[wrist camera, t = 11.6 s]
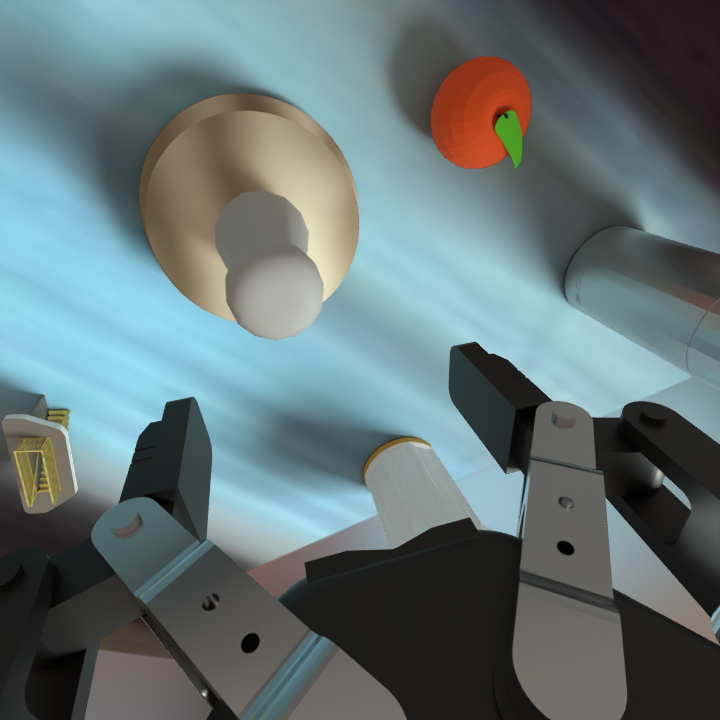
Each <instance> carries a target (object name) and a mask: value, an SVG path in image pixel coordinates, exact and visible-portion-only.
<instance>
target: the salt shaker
mask: <svg viewBox="0 0 720 720" xmlns="http://www.w3.org/2000/svg"><path fill="white" fill-rule="evenodd" d="M308 238H309V232H308V229H307V227H306V224H305V222H304V219H303V217H302V214H301V212H300V211H299V210H298V209H297V208H296V207H295V206H294V205H293V204H292V203H291V202H289V201H288V200H287V199H286V198H285V197H283V196H280V195H277V194H274V193H271V192H268V191H265V190H260V191H253V192H245V193H241V194H240V195H239V196H237V197H236V198H234V199H233V200H232V201H230V202H229V203H227V204H226V205H225V206H224V207H223V209H222V211H221V213H220V215H219V217H218V219H217V222H216V224H215V247H216V249H217V251H218V253H219V255H220V257H221V259H222V261H223V263H224V265H225V267H226V268H227V270H228V272H227V274H226V278H225V288H226V302H227V304H228V306H229V308H230V310H231V312H232V314H233V315H234V317H235V319H236V321H237V323H238V324H239V325H240V326H241V327H243V328H244V329H246V330H247V331H249V332H250V333H252V334H253V335H255V336H258V337H263V338H267V339H272V340H279V339H284V338H288V337H293V336H296V335H298V334H299V333H301V332H302V331H304V330H305V329H307V328H308V327H310V326H311V325H312V324H313V322H314V321H315V319H316V317H317V315H318V314H319V312H320V310H321V309H322V301H323V292H324V283H323V281H322V278H321V276H320V273H319V271H318V269H317V266H316V264H315V263H314V261H313V260H312V259H311V258H310V257H309V256H307V251H308Z"/></svg>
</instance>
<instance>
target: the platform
mask: <svg viewBox="0 0 720 720" xmlns="http://www.w3.org/2000/svg"><path fill="white" fill-rule="evenodd" d="M69 411H70V410H49V411H48V409H47V404H46V399H45V395H42V396H41V398H40V399H39V401H38V402H37V404H36V405H35V407H34V408H33V410H32V411H31V413H30V414H29V415H27V414H10V415H7V416H6V417H5V418H4V419H3V421H2V422H1V425H2V429H3V432H4V436H5V440H6V444H7V447H8V451H9V455H10V459H11V462H12V466H13V470H14V474H15V477H16V481H17V485H18V489H19V492H20V496H21V500H22V504H23V507H24V510H25V512H27V513H46V512H48V511H50V510H52V509H53V508H55V507H56V506H58V505H60V504H61V503H63V502H65V501H66V500H68V499H69V498H71V497H73V496H74V495H75V494H76V491H77V489H78V487H77V482H76V476H75V471H74V465H73V459H72V454H71V448H70V443H69V437H68V432H67V431H68V428H67V427H68V425H69V423H68V420H69V416H68V415H69V414H70V412H69ZM48 413H49V414H48ZM49 415H51V416H49ZM54 415H65V416H54ZM53 421H62V422H53Z"/></svg>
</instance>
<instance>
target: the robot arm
mask: <svg viewBox="0 0 720 720" xmlns="http://www.w3.org/2000/svg"><path fill="white" fill-rule="evenodd" d="M564 287H565V295H566V297H567V300H568V302H569V303H570V304H571V305H572V306H573V307H574V308H576V309H577V310H579V311H581V312H583V313H584V314H586V315H588V316H590V317H591V318H593V319H595V320H596V321H598V322H600V323H601V324H603V325H605V326H606V327H608V328H610V329H612V330H613V331H615V332H617V333H619V334H620V335H622V336H624V337H626V338H627V339H629V340H631V341H633V342H634V343H636V344H638V345H640V346H641V347H643V348H645V349H647V350H648V351H650V352H652V353H653V354H655V355H657V356H659V357H660V358H662V359H664V360H666V361H667V362H669V363H671V364H673V365H674V366H676V367H678V368H680V369H681V370H683V371H685V372H687V373H688V374H690V375H692V376H694V377H696V378H697V379H699V380H701V381H703V382H704V383H706V384H708V385H710V386H711V387H713V388H715V389H717V390H718V391H720V254H718V253H714V252H711V251H707V250H704V249H701V248H697V247H694V246H690V245H687V244H684V243H680V242H677V241H673V240H670V239H667V238H663V237H660V236H657V235H654V234H650V233H647V232H644V231H640V230H637V229H633V228H630V227H626V226H614V227H609V228H607V229H604V230H602V231H600V232H598V233H597V234H595V235H593V236H592V237H591V238H590V239H589V240H587V241H586V242H585V243H584V244H583V245H582V247H581V248H580V249H579V250H578V251H577V253H576V254H575V256H574V257H573V259H572V261H571V263H570V265H569V267H568V270H567V274H566V277H565V286H564ZM449 393H450V397H451V400H452V402H453V404H454V405H455V406H456V408H457V409H458V410H459V412H460V413H461V415H462V416H463V417H464V419H465V420H466V421H467V423H468V424H469V425H470V427H471V428H472V429H473V431H474V432H475V433H476V435H477V436H478V437H479V439H480V440H481V441H482V443H483V444H484V445H485V447H486V448H487V449H488V451H489V452H490V453H491V455H492V456H493V457H494V459H495V460H496V461H497V463H498V464H499V465H500V467H501V468H502V469H503V471H504V472H505V473H506V474H509V473H513V472H516V471H520V470H521V471H522V473H523V474H524V479H523V486H522V494H521V502H520V510H519V517H518V526H517V534H516V537H515V536H512V535H509V534H506V533H502V532H497V531H492V530H477V529H476V527H475V525H474V523H473V522H472V520H471V518H470V517H468V518H465V519H461V520H457V521H454V522H450V523H447V524H443V525H439V526H436V527H432V528H430V529H428V530H426V531H425V532H423V533H421V534H420V535H418V536H416V537H414V538H413V539H411V540H409V541H407V542H406V543H404V544H402V545H400V546H399V547H397V548H394V549H387V550H358V551H345V552H341V553H338V554H334V555H330V556H327V557H323V558H319V559H316V560H312V561H309V562H305V568H306V575H307V577H305V578H304V579H302V580H300V581H298V582H297V583H296V584H294V585H293V586H292V587H290V588H289V589H288V590H287V591H286V592H285V593H284V594H282V595H281V597H279V598H278V600H277V599H276V598H274V597H273V596H272V595H271V594H270V593H269V592H268V591H267V590H265V589H264V588H263V587H262V586H261V585H260V584H259V583H258V582H256V581H255V580H254V579H253V578H252V577H251V576H250V575H249V574H247V573H246V572H245V571H244V570H243V569H242V568H241V567H240V566H239V565H237V564H236V563H235V562H234V561H233V560H232V559H231V558H230V557H228V556H227V555H226V554H225V553H224V552H223V551H222V550H221V549H219V548H218V547H217V546H216V545H215V544H214V543H213V542H211V541H210V540H208V539H206V536H207V522H208V508H209V494H210V480H211V466H212V448H211V442H210V438H209V435H208V432H207V429H206V426H205V423H204V420H203V418H202V415H201V412H200V409H199V406H198V403H197V401H196V399H195V398H194V397H190V398H185V399H180V400H175V401H170V402H167V403H166V405H165V409H164V413H163V417H162V421H157V422H152V423H150V424H149V425H148V426H147V427H146V429H145V430H144V431H143V432H142V433H141V434H140V436H139V438H138V441H137V444H136V448H135V453H134V454H133V458H132V464H130V468H129V471H128V474H127V477H126V481H125V484H124V487H123V491H122V494H121V497H120V501H119V504H117V505H116V506H114V507H112V508H111V509H110V510H108V511H107V512H106V513H105V514H104V515H103V516H102V517H101V518H100V519H99V520H98V522H97V523H96V525H95V526H94V528H93V531H92V536H90V537H89V538H87V539H85V540H83V541H81V542H79V543H77V544H75V545H73V546H71V547H69V548H67V549H65V550H63V551H61V552H59V553H57V554H55V555H52V556H50V557H49V556H48V555H47V554H46V552H45V551H44V550H42V549H40V548H37V547H27V548H22V549H18V550H15V551H13V552H10V553H8V554H6V555H4V556H2V557H1V558H0V720H84V718H85V712H86V708H87V702H88V698H89V693H90V688H91V683H92V678H93V673H94V668H95V663H96V658H97V653H98V648H99V643H100V640H101V639H102V638H104V637H106V636H108V635H109V634H111V633H113V632H114V631H116V630H118V629H120V628H121V627H123V626H125V625H126V624H128V623H130V622H131V621H133V620H135V619H137V618H138V617H141V618H142V619H143V621H144V622H145V623H146V624H147V626H148V627H149V628H150V629H151V631H152V632H153V633H154V634H155V636H156V637H157V638H158V640H159V641H160V642H161V643H162V645H163V646H164V647H165V648H166V650H167V651H168V652H169V654H170V655H171V656H172V657H173V659H174V660H175V661H176V662H177V664H178V665H179V666H180V668H181V669H182V670H183V672H184V673H185V674H186V676H187V677H188V679H189V680H190V681H191V683H192V684H193V686H194V687H195V688H196V690H197V691H198V693H199V694H200V695H201V697H202V698H203V699H204V700H205V702H206V703H207V704H208V706H209V707H210V708H211V709H212V711H211V713H210V714H209V716H208V718H207V720H720V646H719V645H717V644H716V643H714V642H712V641H710V640H708V639H706V638H705V637H703V636H701V635H699V634H697V633H695V632H693V631H691V630H690V629H687V628H686V627H684V626H682V625H680V624H679V623H677V622H675V621H673V620H671V619H669V618H667V617H666V616H664V615H662V614H660V613H658V612H656V611H654V610H652V609H651V608H649V607H647V606H645V605H643V604H641V603H639V602H638V601H636V600H634V599H632V598H630V597H628V596H627V595H625V594H623V593H621V592H619V591H617V590H615V589H614V588H612V577H611V576H612V575H611V563H610V550H609V537H608V524H607V512H606V499H605V497H606V498H607V499H608V501H609V502H610V503H611V504H612V505H613V506H614V507H615V509H616V510H617V511H618V512H619V513H620V514H621V515H622V517H623V518H624V519H625V520H626V521H627V522H628V523H629V525H630V526H631V527H632V528H633V529H634V530H635V531H636V533H637V534H638V535H639V536H640V537H641V538H642V539H643V541H644V542H645V543H646V544H647V545H648V546H649V548H650V549H651V550H652V551H653V552H654V553H655V554H656V556H657V557H658V558H659V559H660V560H661V561H662V562H663V564H664V565H665V566H666V567H667V568H668V569H669V570H670V571H671V573H672V574H673V575H674V576H675V577H676V578H677V580H678V581H679V582H680V583H681V584H682V585H683V586H684V587H685V589H686V590H687V591H688V592H689V593H690V594H691V596H692V597H693V598H694V599H695V600H696V601H697V602H698V604H699V605H700V606H701V607H702V608H703V609H704V610H705V612H706V613H707V614H708V615H709V616H710V617H711V625H712V629H713V632H714V635H715V637H716V638H717V640H718V642H719V644H720V444H718V443H717V442H716V441H714V440H713V439H712V438H710V437H709V436H708V435H706V434H705V433H703V432H702V431H701V430H700V429H698V428H697V427H695V426H694V425H693V424H691V423H690V422H689V421H687V420H686V419H685V418H683V417H682V416H680V415H679V414H678V413H676V412H675V411H673V410H671V409H670V408H667V407H665V406H662V405H660V404H656V403H652V402H643V401H637V402H632V403H629V404H627V405H625V406H624V408H623V411H622V414H621V417H620V418H594V417H591V416H590V414H589V413H588V412H587V411H585V410H584V409H582V408H581V407H579V406H577V405H574V404H571V403H567V402H561V401H552V400H551V399H550V398H549V397H548V396H547V395H546V394H544V393H543V392H542V391H541V390H540V389H539V388H538V387H537V386H536V385H535V384H533V383H532V382H531V381H530V380H529V379H528V378H526V377H525V375H524V374H522V373H521V372H520V371H518V370H517V368H516V367H515V366H514V365H513V364H511V363H510V362H509V361H508V360H507V359H504V358H502V357H500V356H498V355H496V354H488V353H487V352H486V351H485V350H484V349H483V348H482V347H481V346H480V345H479V344H478V343H476V342H471V343H466V344H461V345H456V346H453V347H452V348H451V351H450V366H449ZM665 476H666V477H668V478H669V479H670V480H671V481H672V482H673V483H674V484H675V485H676V486H677V487H679V489H681V490H682V491H683V492H684V493H685V495H686V496H687V498H688V500H689V501H690V504H691V510H690V509H689V508H687V507H686V506H685V505H684V504H683V503H682V502H681V501H680V500H679V499H678V498H677V497H676V496H675V495H674V494H673V493H672V492H670V490H668V489H667V488H666V487H665V486H664V485H663V484H662V482H663V479H664V477H665Z"/></svg>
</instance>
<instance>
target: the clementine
mask: <svg viewBox="0 0 720 720" xmlns="http://www.w3.org/2000/svg"><path fill="white" fill-rule="evenodd" d="M531 110H532V107H531V94H530V90H529V86H528V83H527V81H526V80H525V78H524V76H523V74H522V73H521V72H520V71H519V70H518V69H517V68H516V67H515V66H514V65H513V64H512V63H510V62H509V61H506V60H504V59H501V58H498V57H478V58H475V59H471V60H468V61H467V62H465V63H463V64H461V65H460V66H459V67H457V68H456V69H454V70H453V71H451V73H450V74H449V75H448V76H447V77H446V78H445V80H444V81H443V82H442V84H441V86H440V88H439V89H438V91H437V93H436V95H435V99H434V102H433V106H432V109H431V129H432V136H433V139H434V141H435V144H436V146H437V148H438V150H439V151H440V152H441V154H442V155H443V156H444V157H445V158H446V159H448V160H449V161H451V162H452V163H454V164H455V165H457V166H460V167H463V168H467V169H474V168H486V167H489V166H492V165H494V164H496V163H498V162H499V161H501V160H502V159H504V158H505V157H507V156H508V155H509V154H510V156H511V158H512V161H513V163H514V169H516V168H517V167H518V165H519V163H520V161H521V158H522V148H523V142H522V138H523V136H524V135H525V132H526V130H527V127H528V124H529V121H530V115H531ZM514 169H513V170H514ZM513 170H512V171H513Z"/></svg>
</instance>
